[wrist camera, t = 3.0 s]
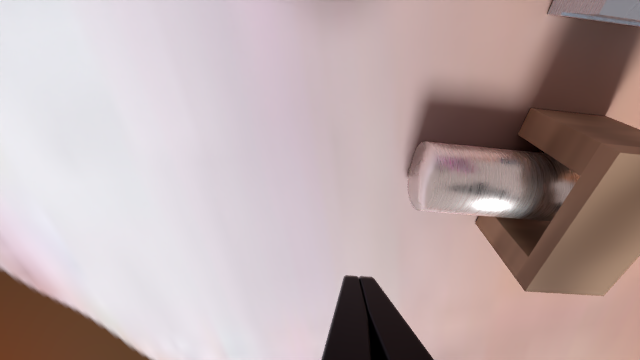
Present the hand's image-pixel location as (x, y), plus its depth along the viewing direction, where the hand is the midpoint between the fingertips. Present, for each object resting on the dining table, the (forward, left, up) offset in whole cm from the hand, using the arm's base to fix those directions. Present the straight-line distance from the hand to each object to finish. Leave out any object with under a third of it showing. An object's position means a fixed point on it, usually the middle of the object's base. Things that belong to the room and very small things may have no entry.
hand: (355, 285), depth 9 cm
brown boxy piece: (-11, 0, -8) cm, 14 cm away
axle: (-9, 0, -9) cm, 12 cm away
